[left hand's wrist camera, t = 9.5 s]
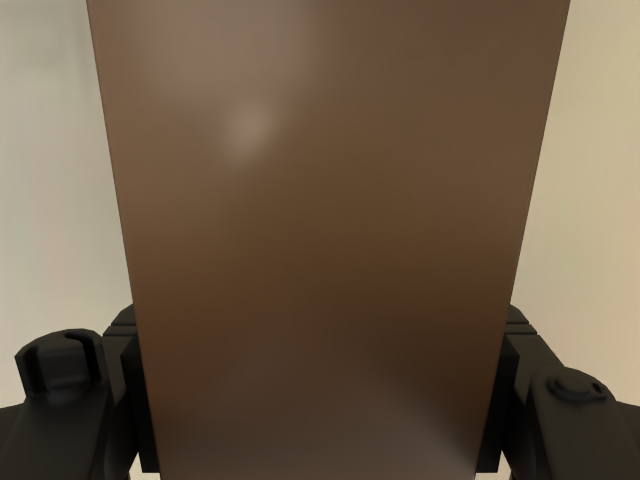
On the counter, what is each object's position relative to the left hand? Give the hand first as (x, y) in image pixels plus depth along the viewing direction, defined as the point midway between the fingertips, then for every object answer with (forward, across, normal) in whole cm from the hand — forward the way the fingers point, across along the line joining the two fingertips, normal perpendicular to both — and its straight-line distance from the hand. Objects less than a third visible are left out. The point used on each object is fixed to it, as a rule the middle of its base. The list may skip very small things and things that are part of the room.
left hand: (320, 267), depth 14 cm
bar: (0, 0, -19) cm, 19 cm away
